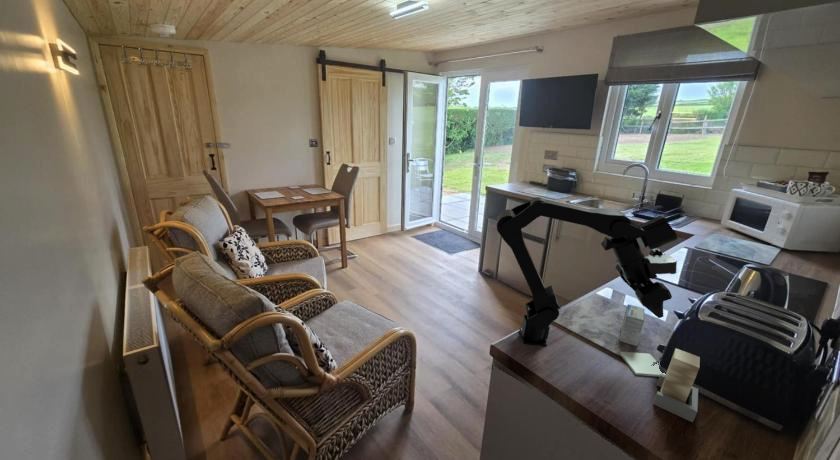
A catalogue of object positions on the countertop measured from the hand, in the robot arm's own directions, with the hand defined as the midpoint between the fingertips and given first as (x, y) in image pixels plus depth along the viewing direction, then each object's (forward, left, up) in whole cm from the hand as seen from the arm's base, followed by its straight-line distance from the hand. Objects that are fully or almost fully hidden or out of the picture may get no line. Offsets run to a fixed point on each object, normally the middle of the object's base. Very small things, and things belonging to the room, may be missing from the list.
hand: (652, 307), depth 87 cm
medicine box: (+2, +8, -15) cm, 17 cm away
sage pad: (-1, -4, -15) cm, 16 cm away
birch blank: (-1, -15, -15) cm, 22 cm away
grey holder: (-1, -15, -15) cm, 21 cm away
